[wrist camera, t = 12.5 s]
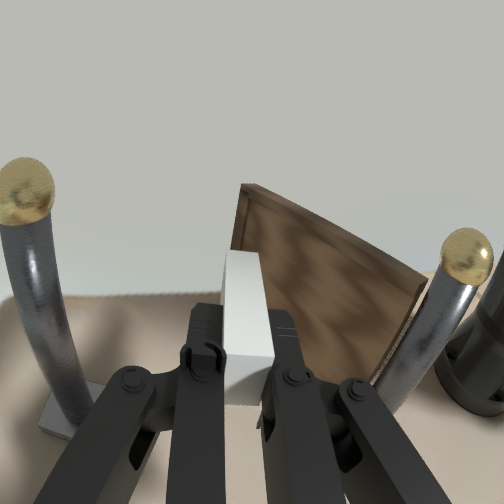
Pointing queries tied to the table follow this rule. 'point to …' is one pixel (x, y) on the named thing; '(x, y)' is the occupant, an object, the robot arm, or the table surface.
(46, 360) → the gate posts
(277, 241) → the panel
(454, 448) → the table surface
